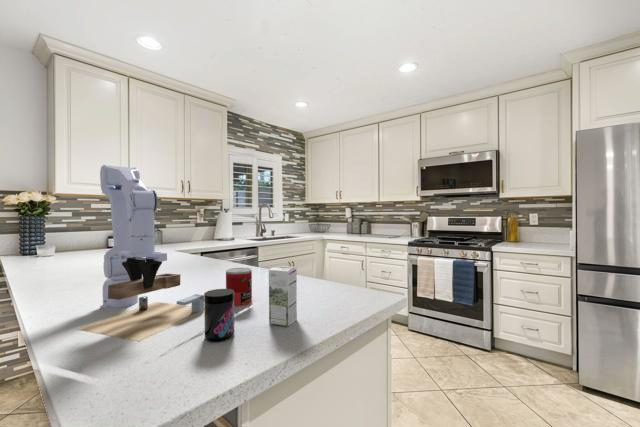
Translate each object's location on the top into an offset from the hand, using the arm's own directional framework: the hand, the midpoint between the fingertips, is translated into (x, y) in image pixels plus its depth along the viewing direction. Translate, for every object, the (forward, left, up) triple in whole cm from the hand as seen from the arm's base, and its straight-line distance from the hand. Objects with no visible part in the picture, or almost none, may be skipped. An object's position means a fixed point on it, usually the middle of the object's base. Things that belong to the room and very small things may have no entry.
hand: (142, 287), depth 79 cm
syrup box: (+35, +12, -10) cm, 38 cm away
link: (0, +1, -1) cm, 2 cm away
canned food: (+15, +21, -10) cm, 28 cm away
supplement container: (+25, -1, -10) cm, 27 cm away
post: (-7, +6, -9) cm, 13 cm away
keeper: (+9, +7, -9) cm, 15 cm away
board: (+1, +1, -9) cm, 10 cm away
